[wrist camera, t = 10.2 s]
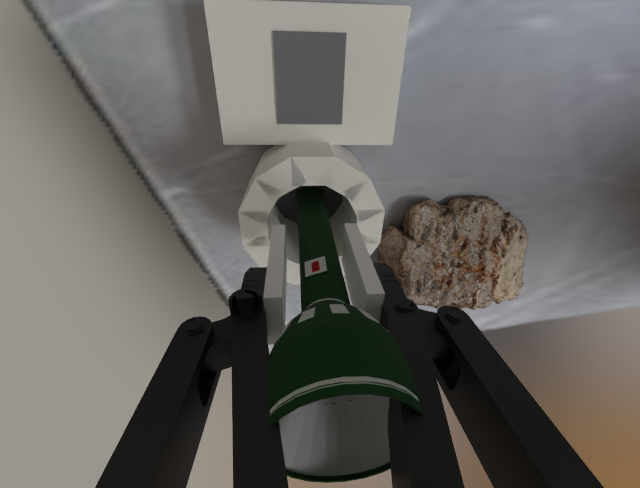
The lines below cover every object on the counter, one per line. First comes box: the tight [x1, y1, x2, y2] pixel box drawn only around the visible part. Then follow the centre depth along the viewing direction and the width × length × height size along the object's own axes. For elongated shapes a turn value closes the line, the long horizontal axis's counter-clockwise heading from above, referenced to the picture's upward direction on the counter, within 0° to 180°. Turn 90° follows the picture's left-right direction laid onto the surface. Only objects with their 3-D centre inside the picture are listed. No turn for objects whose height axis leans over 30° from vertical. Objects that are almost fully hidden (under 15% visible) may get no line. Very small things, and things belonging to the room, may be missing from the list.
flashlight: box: [267, 186, 423, 483], centre depth 17 cm, size 5×5×20 cm
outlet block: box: [203, 0, 411, 285], centre depth 21 cm, size 12×17×6 cm
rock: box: [379, 196, 528, 310], centre depth 27 cm, size 15×10×6 cm
